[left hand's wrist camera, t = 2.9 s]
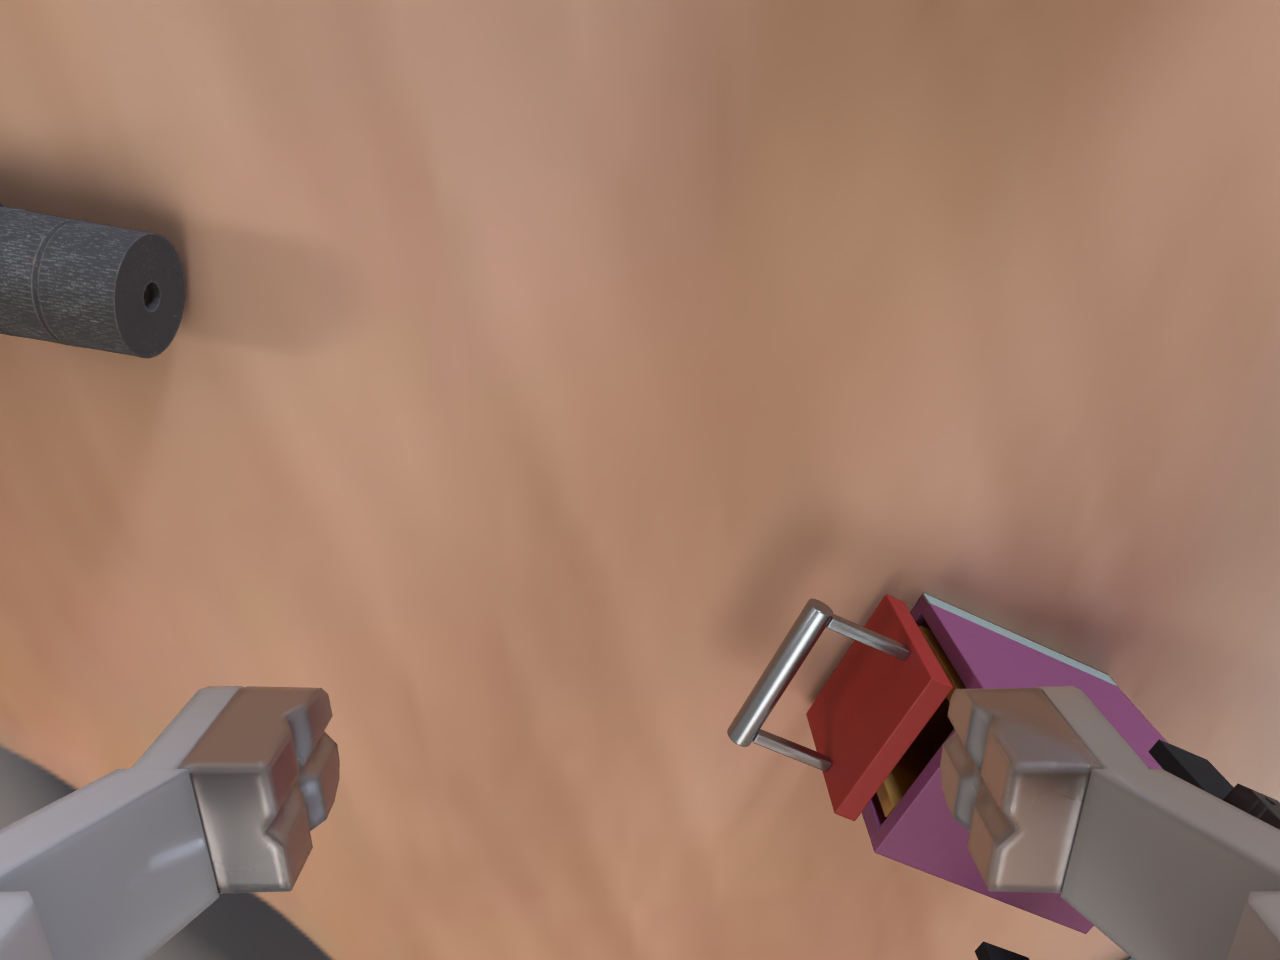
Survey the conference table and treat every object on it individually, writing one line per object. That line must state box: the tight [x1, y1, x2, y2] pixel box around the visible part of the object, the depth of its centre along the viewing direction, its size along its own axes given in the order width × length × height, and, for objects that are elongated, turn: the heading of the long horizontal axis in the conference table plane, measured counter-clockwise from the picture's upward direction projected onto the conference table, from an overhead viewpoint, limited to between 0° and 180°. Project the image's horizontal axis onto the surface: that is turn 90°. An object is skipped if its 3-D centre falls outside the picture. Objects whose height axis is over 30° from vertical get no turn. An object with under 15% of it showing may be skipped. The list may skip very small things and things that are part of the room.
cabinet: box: [862, 593, 1168, 934], centre depth 44 cm, size 13×10×10 cm
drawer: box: [727, 595, 967, 821], centre depth 43 cm, size 17×9×8 cm, turn 65°
